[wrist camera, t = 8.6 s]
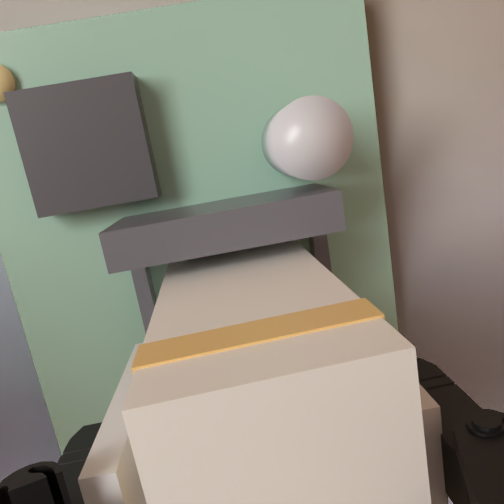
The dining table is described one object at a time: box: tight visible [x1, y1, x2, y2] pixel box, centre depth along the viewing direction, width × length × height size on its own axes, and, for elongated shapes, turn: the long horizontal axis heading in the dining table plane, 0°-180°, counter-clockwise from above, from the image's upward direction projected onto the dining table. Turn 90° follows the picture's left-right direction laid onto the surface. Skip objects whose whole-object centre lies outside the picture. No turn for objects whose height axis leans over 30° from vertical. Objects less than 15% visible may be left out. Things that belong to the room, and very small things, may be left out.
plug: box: [122, 240, 431, 504], centre depth 12 cm, size 7×5×10 cm, turn 10°
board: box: [0, 0, 399, 455], centre depth 16 cm, size 20×14×4 cm
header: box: [99, 183, 346, 333], centre depth 15 cm, size 11×7×4 cm, turn 10°
